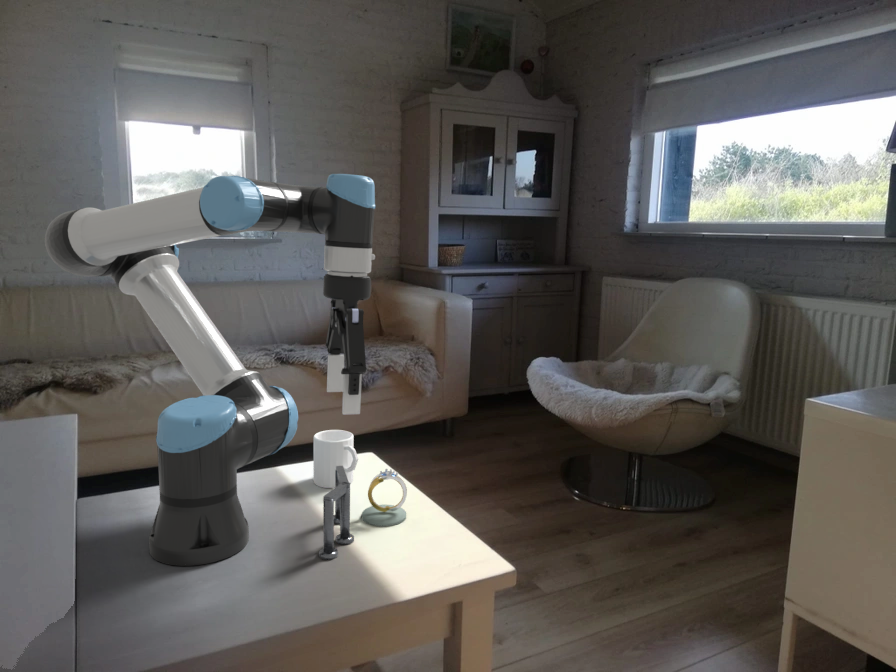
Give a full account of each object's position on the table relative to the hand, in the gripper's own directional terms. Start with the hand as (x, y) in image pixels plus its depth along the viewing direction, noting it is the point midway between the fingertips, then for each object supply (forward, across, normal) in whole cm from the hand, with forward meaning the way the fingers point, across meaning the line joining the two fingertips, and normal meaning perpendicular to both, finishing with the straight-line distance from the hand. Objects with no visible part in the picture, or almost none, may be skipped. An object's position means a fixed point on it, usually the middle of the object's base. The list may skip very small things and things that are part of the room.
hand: (342, 402), depth 108 cm
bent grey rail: (+23, -1, +1) cm, 23 cm away
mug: (+24, +22, -5) cm, 33 cm away
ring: (+22, +4, -10) cm, 25 cm away
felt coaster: (+23, +4, -9) cm, 25 cm away
